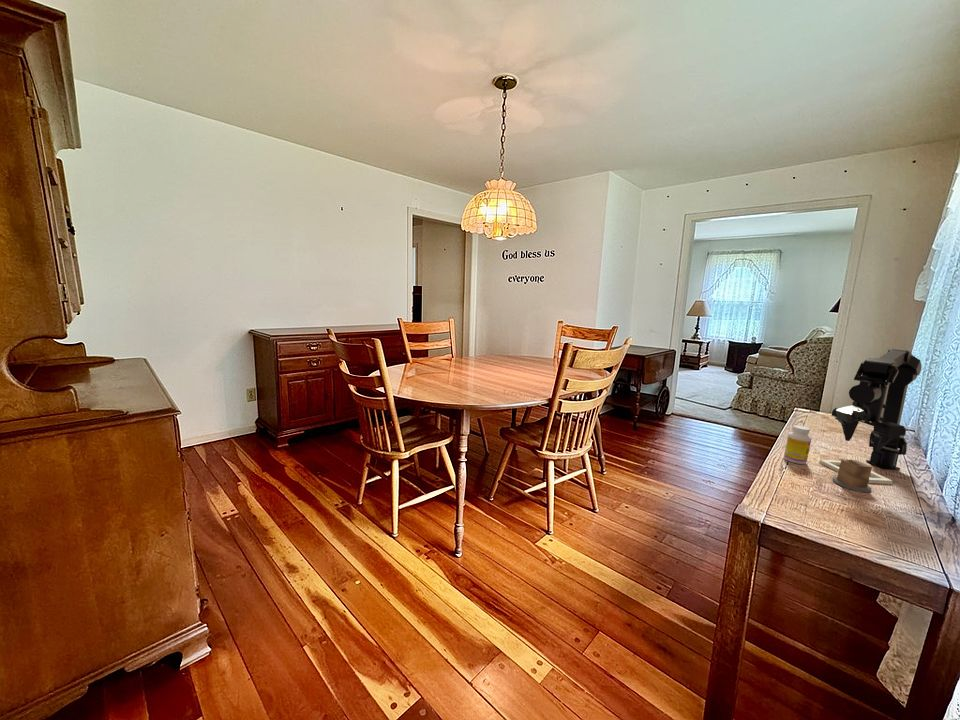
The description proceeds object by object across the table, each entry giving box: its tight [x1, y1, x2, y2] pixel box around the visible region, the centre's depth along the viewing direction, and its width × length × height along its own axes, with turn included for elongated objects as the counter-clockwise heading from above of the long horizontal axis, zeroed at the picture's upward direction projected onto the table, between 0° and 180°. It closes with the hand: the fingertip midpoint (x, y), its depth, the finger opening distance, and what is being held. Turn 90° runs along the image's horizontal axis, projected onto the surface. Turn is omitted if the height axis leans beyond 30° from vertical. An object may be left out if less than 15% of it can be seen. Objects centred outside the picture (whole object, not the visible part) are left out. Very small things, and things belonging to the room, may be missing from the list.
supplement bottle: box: [783, 424, 812, 465], centre depth 140 cm, size 7×7×13 cm
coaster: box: [832, 476, 872, 493], centre depth 124 cm, size 9×9×1 cm
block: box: [836, 458, 873, 488], centre depth 123 cm, size 5×5×7 cm
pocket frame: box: [819, 459, 893, 485], centre depth 133 cm, size 11×15×1 cm
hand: (860, 446), depth 124 cm, fingers open, 9 cm apart
